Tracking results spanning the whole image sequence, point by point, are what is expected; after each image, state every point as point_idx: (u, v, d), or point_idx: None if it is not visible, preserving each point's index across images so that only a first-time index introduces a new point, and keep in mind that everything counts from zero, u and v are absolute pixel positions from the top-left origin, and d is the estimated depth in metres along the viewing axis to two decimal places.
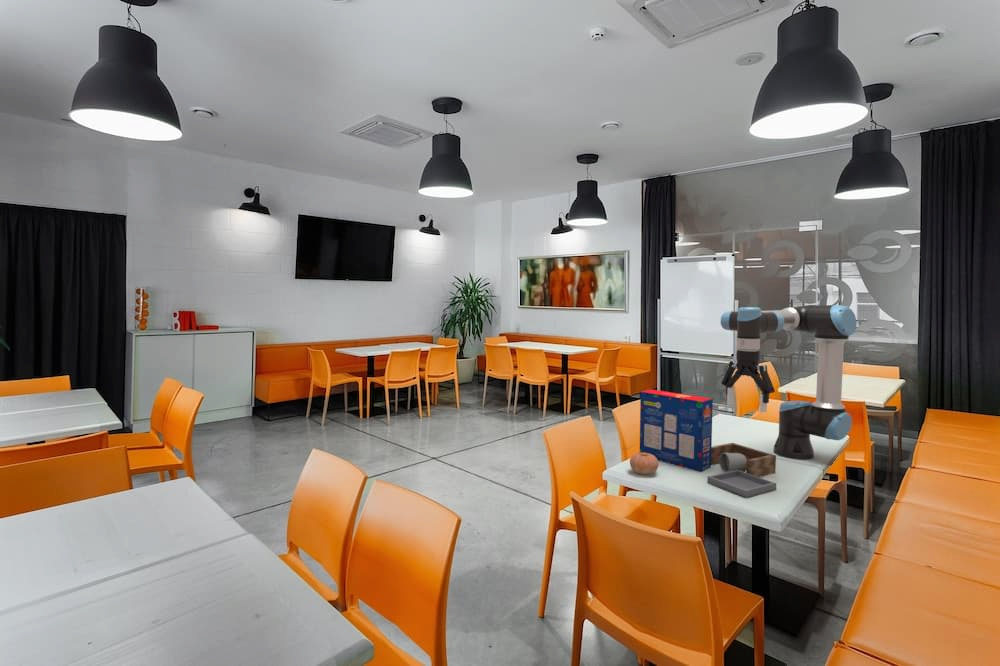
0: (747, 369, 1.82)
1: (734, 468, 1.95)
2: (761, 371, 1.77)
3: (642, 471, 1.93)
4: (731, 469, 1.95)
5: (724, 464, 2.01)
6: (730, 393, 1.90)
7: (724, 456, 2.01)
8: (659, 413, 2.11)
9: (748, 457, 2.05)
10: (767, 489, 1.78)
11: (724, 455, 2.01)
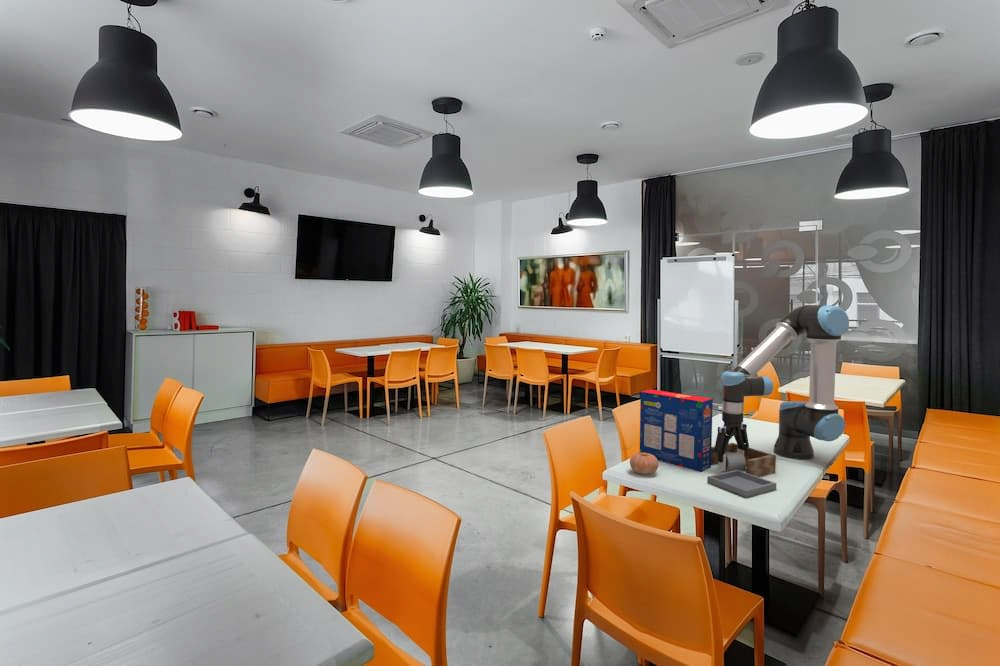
0: None
1: (733, 467, 1.96)
2: None
3: (642, 471, 1.93)
4: (730, 468, 1.96)
5: None
6: None
7: None
8: (659, 413, 2.11)
9: (748, 457, 2.05)
10: (767, 489, 1.78)
11: None
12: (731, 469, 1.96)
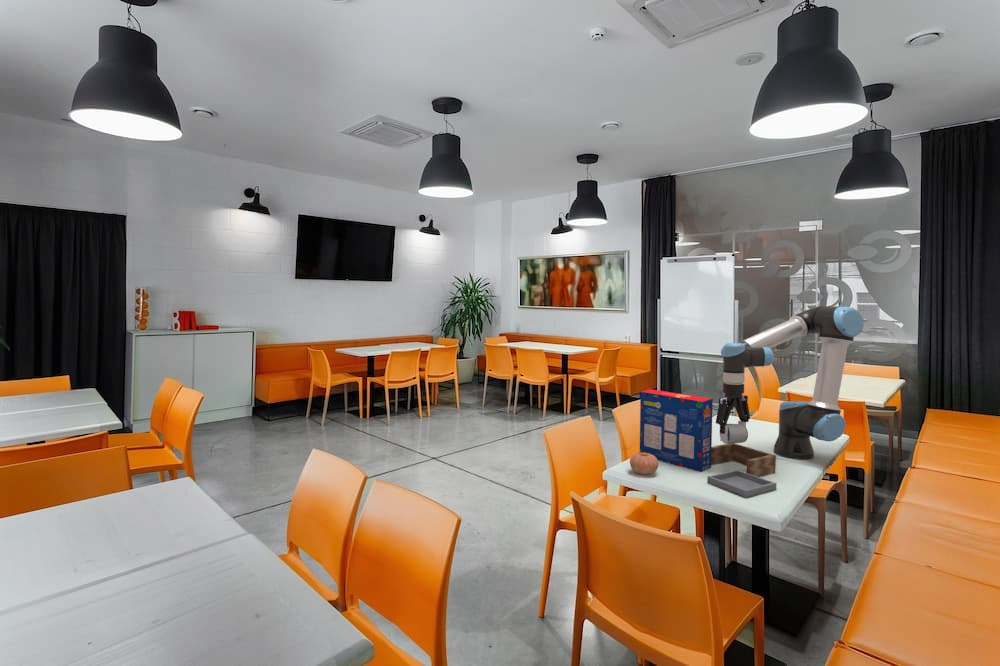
0: None
1: (734, 438, 1.95)
2: None
3: (642, 471, 1.93)
4: (731, 439, 1.95)
5: None
6: None
7: None
8: (659, 413, 2.11)
9: (748, 457, 2.05)
10: (767, 489, 1.78)
11: None
12: (733, 440, 1.95)
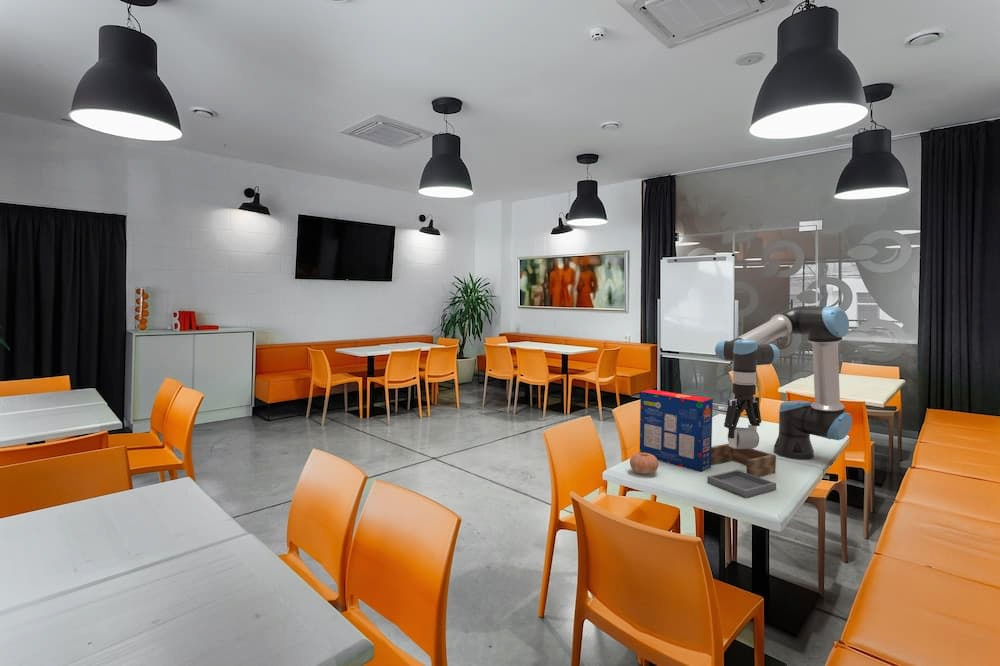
0: None
1: (744, 443, 1.78)
2: None
3: (642, 471, 1.93)
4: (741, 445, 1.78)
5: None
6: None
7: None
8: (659, 413, 2.11)
9: (748, 457, 2.05)
10: (767, 489, 1.78)
11: None
12: (742, 445, 1.78)
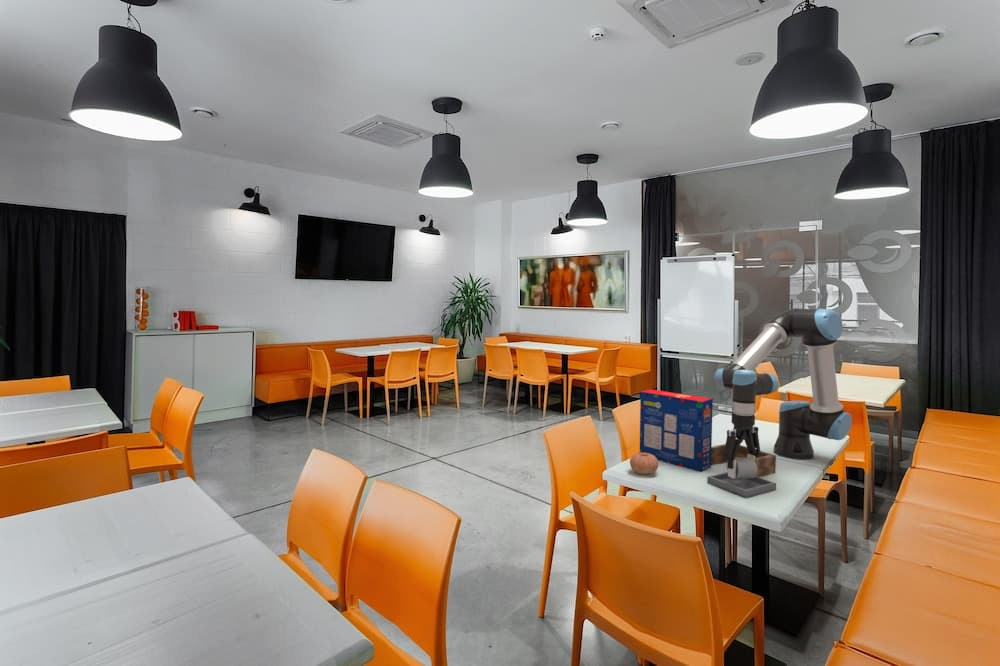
0: None
1: (743, 474, 1.79)
2: None
3: (642, 471, 1.93)
4: (740, 475, 1.79)
5: None
6: None
7: None
8: (659, 413, 2.11)
9: None
10: (767, 489, 1.78)
11: None
12: (741, 476, 1.79)
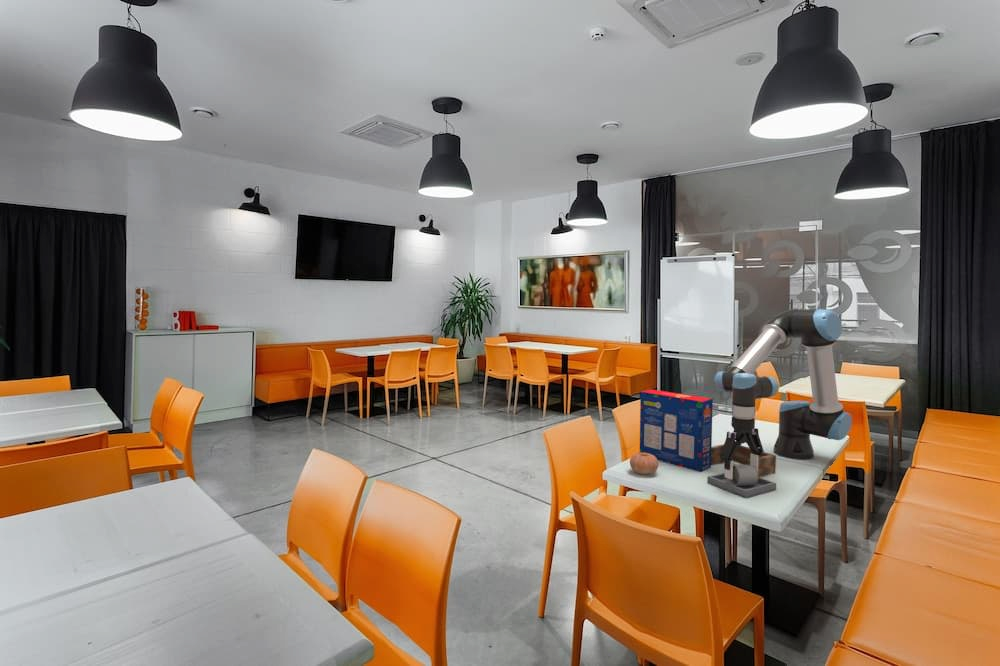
0: None
1: (744, 481, 1.79)
2: None
3: (642, 471, 1.93)
4: (741, 482, 1.79)
5: None
6: (752, 460, 1.86)
7: None
8: (659, 413, 2.11)
9: (748, 457, 2.05)
10: (767, 489, 1.78)
11: None
12: (742, 483, 1.79)
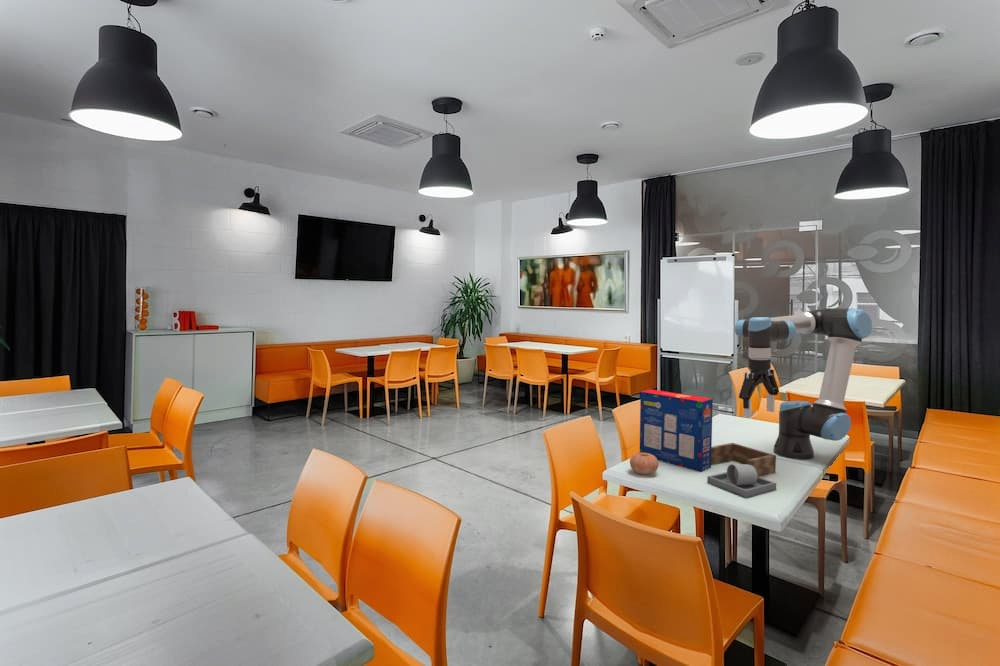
0: None
1: (743, 481, 1.79)
2: None
3: (642, 471, 1.93)
4: (740, 482, 1.79)
5: (731, 476, 1.86)
6: (768, 400, 1.96)
7: (732, 467, 1.86)
8: (659, 413, 2.11)
9: (748, 457, 2.05)
10: (767, 489, 1.78)
11: (732, 466, 1.85)
12: (741, 483, 1.80)
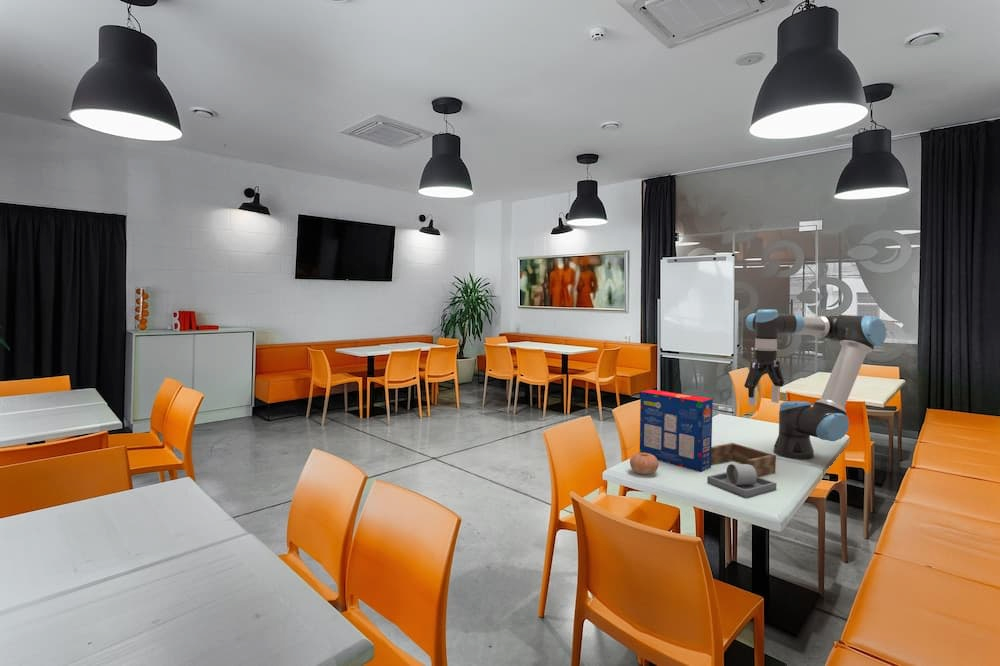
0: None
1: (743, 480, 1.80)
2: None
3: (642, 471, 1.93)
4: (740, 482, 1.80)
5: (731, 476, 1.86)
6: (773, 391, 2.00)
7: (731, 467, 1.86)
8: (659, 413, 2.11)
9: (748, 457, 2.05)
10: (767, 489, 1.78)
11: (731, 466, 1.85)
12: (741, 482, 1.80)
